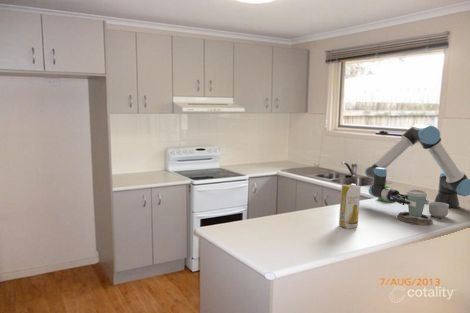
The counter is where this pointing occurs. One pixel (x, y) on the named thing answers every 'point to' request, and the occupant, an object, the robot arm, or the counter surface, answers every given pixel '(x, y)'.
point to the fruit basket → (384, 199)
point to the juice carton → (349, 206)
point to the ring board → (414, 219)
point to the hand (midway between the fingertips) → (422, 203)
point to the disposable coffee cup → (419, 198)
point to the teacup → (438, 209)
